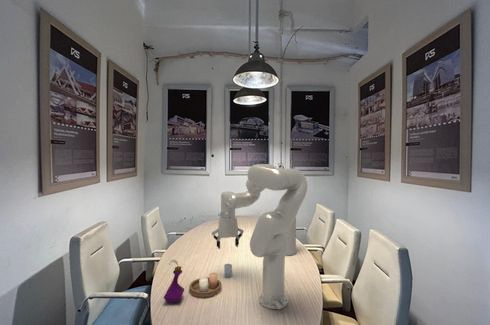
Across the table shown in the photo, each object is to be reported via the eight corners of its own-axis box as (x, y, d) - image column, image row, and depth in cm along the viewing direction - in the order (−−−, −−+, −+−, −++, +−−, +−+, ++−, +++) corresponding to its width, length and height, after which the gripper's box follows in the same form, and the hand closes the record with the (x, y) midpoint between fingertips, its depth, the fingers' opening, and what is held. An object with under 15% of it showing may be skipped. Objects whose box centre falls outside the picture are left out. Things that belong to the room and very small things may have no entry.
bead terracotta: (209, 289, 122) (209, 277, 121) (208, 285, 125) (208, 273, 125) (218, 288, 123) (218, 276, 123) (216, 284, 127) (216, 272, 126)
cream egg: (208, 293, 118) (208, 280, 118) (199, 295, 117) (199, 281, 117) (207, 289, 122) (207, 276, 122) (198, 290, 121) (198, 278, 121)
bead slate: (232, 277, 136) (232, 266, 136) (225, 278, 134) (225, 267, 134) (230, 274, 139) (230, 263, 139) (223, 275, 138) (223, 264, 138)
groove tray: (223, 295, 118) (223, 290, 118) (190, 300, 114) (190, 295, 114) (218, 280, 132) (218, 275, 132) (188, 284, 128) (188, 279, 128)
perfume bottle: (184, 295, 118) (184, 256, 117) (181, 305, 110) (180, 263, 110) (168, 296, 117) (167, 257, 117) (163, 305, 110) (163, 263, 110)
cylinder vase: (295, 256, 164) (295, 217, 164) (276, 255, 167) (276, 217, 166) (295, 249, 177) (296, 213, 176) (277, 248, 179) (277, 213, 179)
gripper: (213, 217, 130) (212, 251, 131) (245, 215, 135) (245, 248, 136) (210, 214, 138) (210, 246, 138) (241, 212, 142) (241, 243, 143)
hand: (227, 247), depth 137 cm, fingers open, 9 cm apart
